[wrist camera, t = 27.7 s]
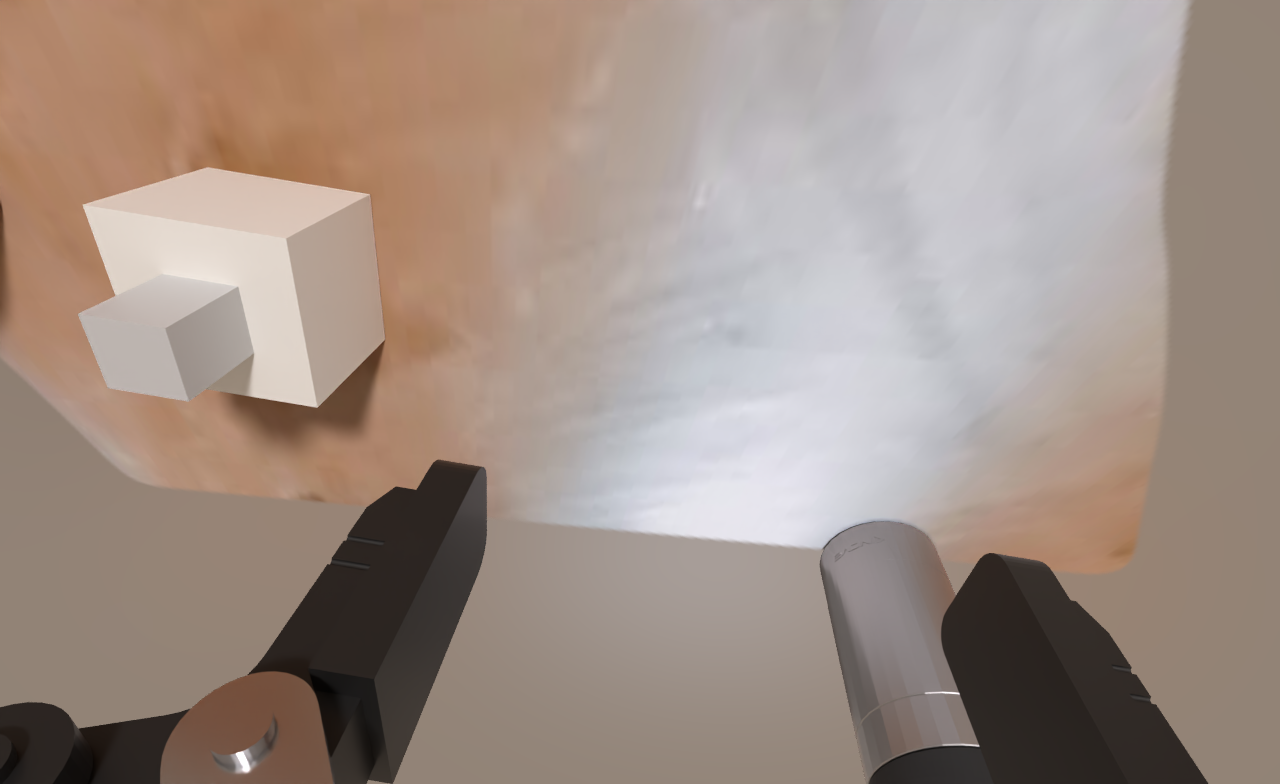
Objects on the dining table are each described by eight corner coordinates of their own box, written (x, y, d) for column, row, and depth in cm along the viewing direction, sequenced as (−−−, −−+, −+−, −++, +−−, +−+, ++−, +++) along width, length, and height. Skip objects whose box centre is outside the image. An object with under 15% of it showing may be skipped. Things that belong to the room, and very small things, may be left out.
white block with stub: (370, 194, 37) (216, 275, 25) (385, 339, 42) (264, 461, 31) (207, 167, 37) (-22, 235, 25) (243, 316, 42) (69, 428, 31)
